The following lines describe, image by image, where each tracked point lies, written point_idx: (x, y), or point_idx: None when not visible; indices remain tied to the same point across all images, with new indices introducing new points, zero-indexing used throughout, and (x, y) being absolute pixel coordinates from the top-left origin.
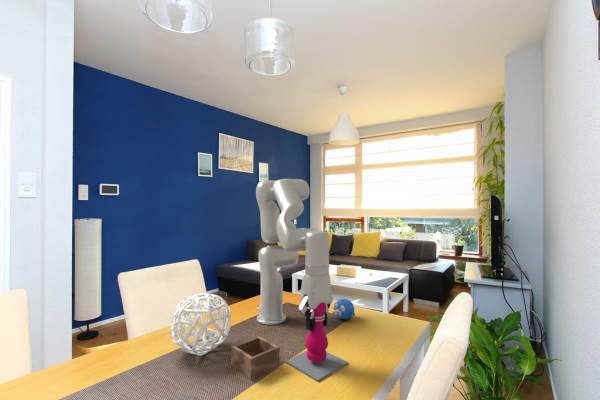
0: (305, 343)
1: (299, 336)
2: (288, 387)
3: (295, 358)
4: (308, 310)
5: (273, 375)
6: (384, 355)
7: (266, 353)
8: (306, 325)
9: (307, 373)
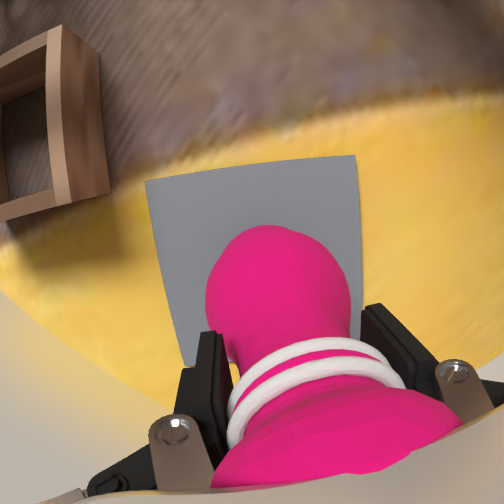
0: (211, 273)
1: (357, 20)
2: (85, 326)
3: (197, 187)
4: (204, 485)
5: (67, 236)
6: (467, 346)
7: (7, 219)
8: (181, 377)
9: (173, 317)
